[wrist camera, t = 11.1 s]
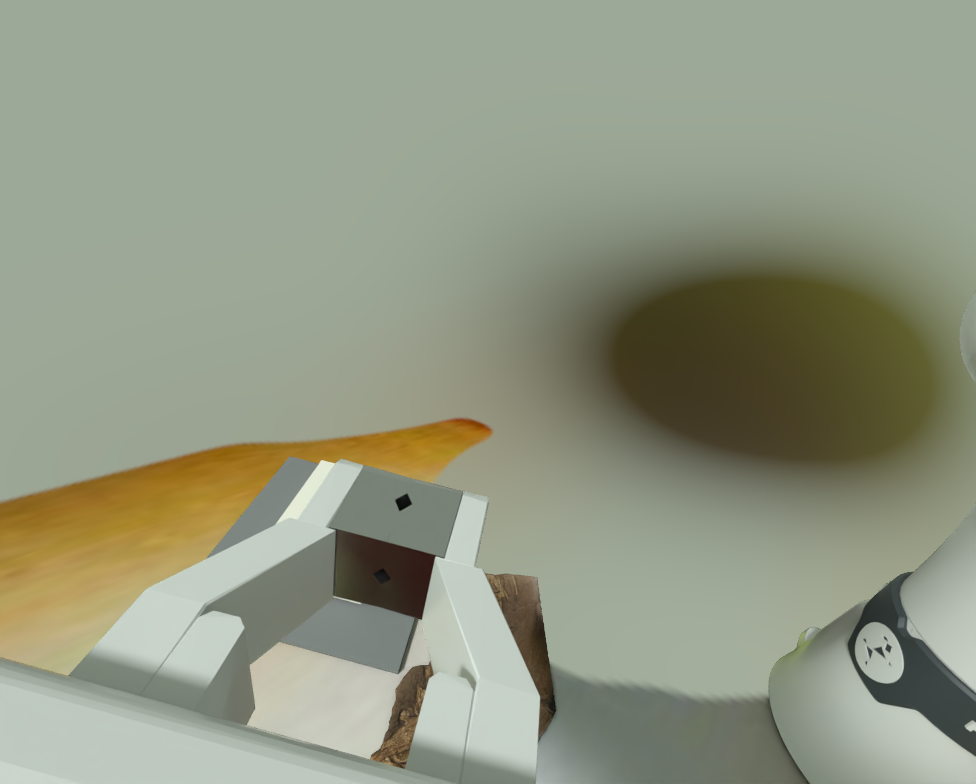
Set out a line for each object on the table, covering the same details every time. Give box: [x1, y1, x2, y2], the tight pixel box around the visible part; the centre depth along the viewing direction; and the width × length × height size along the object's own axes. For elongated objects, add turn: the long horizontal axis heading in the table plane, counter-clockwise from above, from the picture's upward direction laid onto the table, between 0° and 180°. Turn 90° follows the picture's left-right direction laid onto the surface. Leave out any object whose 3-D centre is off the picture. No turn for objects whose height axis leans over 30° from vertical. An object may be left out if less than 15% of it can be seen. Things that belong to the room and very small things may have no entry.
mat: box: [206, 457, 415, 674], centre depth 42 cm, size 18×18×1 cm
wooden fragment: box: [370, 574, 556, 769], centre depth 34 cm, size 26×11×1 cm, turn 156°
